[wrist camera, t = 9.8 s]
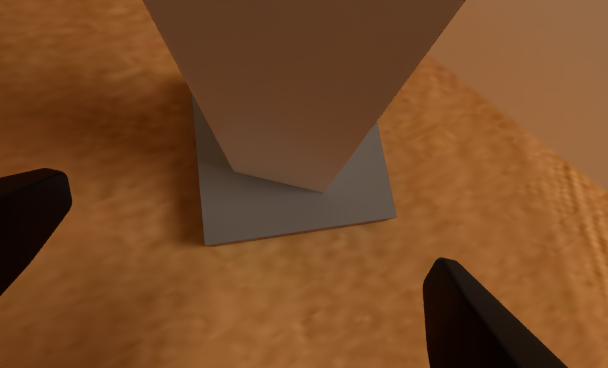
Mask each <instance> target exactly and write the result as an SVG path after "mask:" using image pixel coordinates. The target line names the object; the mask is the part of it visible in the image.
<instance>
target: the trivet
mask: <svg viewBox="0 0 608 368" xmlns="http://www.w3.org/2000/svg"><path fill="white" fill-rule="evenodd" d="M191 97H192V108H193V119H194V130H195V141H196V152H197V164H198V175H199V186H200V197H201V208H202V219H203V231H204V242H205V246H211V247H215V246H222V245H229V244H236V243H242V242H249V241H256V240H262V239H269V238H276V237H282V236H289V235H296V234H303V233H309V232H316V231H323V230H329V229H336V228H343V227H349V226H356V225H363V224H370V223H376V222H383V221H386V220H389V219H393V218H396V217H397V216H396V211H395V207H394V202H393V197H392V192H391V187H390V183H389V178H388V173H387V168H386V164H385V159H384V154H383V149H382V144H381V140H380V135H379V130H378V125H377V122H376V123H375V124H374V126H373V127H372V128H371V130H370V131H369V132H368V134H367V135H366V137H365V138H364V139H363V141H362V142H361V143H360V145H359V146H358V147H357V149H356V150H355V152H354V153H353V154H352V156H351V157H350V158H349V160H348V161H347V162H346V164H345V165H344V167H343V168H342V169H341V171H340V172H339V173H338V175H337V176H336V177H335V179H334V180H333V181H332V183H331V184H330V186H329V187H328V188H327V190H326V191H325V192H324V193H322V192H318V191H313V190H309V189H305V188H301V187H296V186H292V185H288V184H284V183H280V182H275V181H271V180H267V179H263V178H258V177H254V176H250V175H246V174H241V173H237V172H234V171H233V169H232V168H231V166H230V164H229V162H228V160H227V158H226V156H225V154H224V152H223V151H222V149H221V147H220V145H219V143H218V141H217V139H216V137H215V135H214V134H213V132H212V130H211V128H210V126H209V124H208V122H207V120H206V119H205V117H204V115H203V113H202V111H201V109H200V107H199V105H198V103H197V102H196V100H195V98H194V96H193V94H192V92H191Z"/></svg>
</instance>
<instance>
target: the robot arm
mask: <svg viewBox="0 0 608 368" xmlns="http://www.w3.org/2000/svg"><path fill="white" fill-rule="evenodd" d="M71 205H72V197H71V192H70V187H69V182H68V178H67V175H66V174H65V173H64V172H62V171H58V170H53V169H49V168H42V169H37V170H33V171H28V172H24V173H19V174H15V175H10V176H6V177H1V178H0V296H1V295H2V294H3V293H4V291H5V290H6V289H7V288H8V287H9V286H10V285H11V284H12V283H13V282H14V281H15V279H16V278H17V277H18V276H19V275H20V274H21V273H22V272H23V271H24V269H25V268H26V267H27V266H28V265H29V264H30V262H31V261H32V260H33V259H34V257H35V256H36V255H37V253H38V252H39V251H40V249H41V248H42V247H43V245H44V244H45V243H46V241H47V240H48V239H49V237H50V236H51V235H52V233H53V232H54V231H55V229H56V228H57V227H58V225H59V224H60V223H61V221H62V220H63V218H64V217H65V216H66V214H67V213H68V212H69V210H70V208H71ZM423 301H424V315H425V329H426V342H427V351H428V357H429V363H430V368H568V367H567V366H566V365H565V364H564V363H563V362H562V361H561V360H560V359H558V358H557V357H556V356H555V355H554V354H553V353H552V352H551V351H550V350H549V349H548V348H547V347H546V346H545V345H544V344H543V343H542V342H541V341H540V340H539V339H538V338H537V337H536V336H534V335H533V334H532V333H531V332H530V331H529V330H528V329H527V328H526V327H525V326H524V325H523V324H522V323H521V322H520V321H519V320H518V319H517V318H516V317H515V316H514V315H513V314H512V313H511V312H509V311H508V310H507V309H506V308H505V307H504V306H503V305H502V304H501V303H500V302H499V301H498V300H497V299H496V298H495V297H494V296H493V295H492V294H491V293H490V292H489V291H488V290H487V289H486V288H484V287H483V286H482V285H481V284H480V283H479V282H478V281H477V280H476V279H475V278H474V277H473V276H472V275H471V274H470V273H469V272H468V271H467V270H466V269H465V268H464V267H463V266H462V265H460V264H459V263H458V262H457V261H455V260H451V259H447V258H442V257H441V258H438V259H437V260H436V261H435V263H434V264H433V266H432V268H431V269H430V271H429V273H428V275H427V276H426V278H425V280H424V283H423Z"/></svg>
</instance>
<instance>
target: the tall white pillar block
mask: <svg viewBox="0 0 608 368" xmlns="http://www.w3.org/2000/svg"><path fill="white" fill-rule="evenodd" d="M465 1H466V0H143V2H144V4H145V5H146V7H147V9H148V11H149V13H150V15H151V17H152V19H153V21H154V22H155V24H156V26H157V28H158V30H159V32H160V34H161V36H162V38H163V39H164V41H165V43H166V45H167V47H168V49H169V51H170V53H171V54H172V56H173V58H174V60H175V62H176V64H177V66H178V68H179V70H180V71H181V73H182V75H183V77H184V79H185V81H186V83H187V85H188V87H189V88H190V90H191V92H192V94H193V96H194V98H195V100H196V102H197V103H198V105H199V107H200V109H201V111H202V113H203V115H204V117H205V119H206V120H207V122H208V124H209V126H210V128H211V130H212V132H213V134H214V135H215V137H216V139H217V141H218V143H219V145H220V147H221V149H222V151H223V152H224V154H225V156H226V158H227V160H228V162H229V164H230V166H231V168H232V169H233V171H234V172H237V173H241V174H246V175H250V176H254V177H258V178H263V179H267V180H271V181H275V182H280V183H284V184H288V185H292V186H296V187H301V188H305V189H309V190H313V191H318V192H322V193H324V192H325V191H326V190H327V188H328V187H329V186H330V184H331V183H332V181H333V180H334V179H335V177H336V176H337V175H338V173H339V172H340V171H341V169H342V168H343V167H344V165H345V164H346V162H347V161H348V160H349V158H350V157H351V156H352V154H353V153H354V152H355V150H356V149H357V147H358V146H359V145H360V143H361V142H362V141H363V139H364V138H365V137H366V135H367V134H368V132H369V131H370V130H371V128H372V127H373V126H374V124H375V123H376V122H377V120H378V119H379V118H380V116H381V115H382V113H383V112H384V111H385V109H386V108H387V107H388V105H389V104H390V103H391V101H392V100H393V98H394V97H395V96H396V94H397V93H398V92H399V90H400V89H401V88H402V86H403V85H404V84H405V82H406V81H407V79H408V78H409V77H410V75H411V74H412V73H413V71H414V70H415V69H416V67H417V66H418V64H419V63H420V62H421V60H422V59H423V58H424V56H425V55H426V54H427V52H428V51H429V49H430V48H431V46H432V45H433V44H434V43H435V41H436V40H437V39H438V37H439V36H440V34H441V33H442V32H443V30H444V29H445V28H446V26H447V25H448V24H449V22H450V21H451V19H452V18H453V17H454V15H455V14H456V13H457V11H458V10H459V9H460V7H461V6H462V5H463V3H464V2H465Z"/></svg>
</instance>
